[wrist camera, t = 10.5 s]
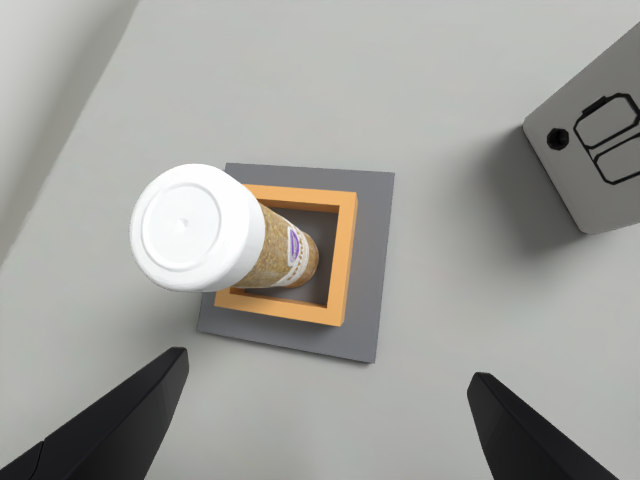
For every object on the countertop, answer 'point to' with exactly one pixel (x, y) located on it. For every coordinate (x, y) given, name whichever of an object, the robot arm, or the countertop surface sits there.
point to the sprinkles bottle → (215, 235)
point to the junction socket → (333, 267)
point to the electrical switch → (595, 139)
